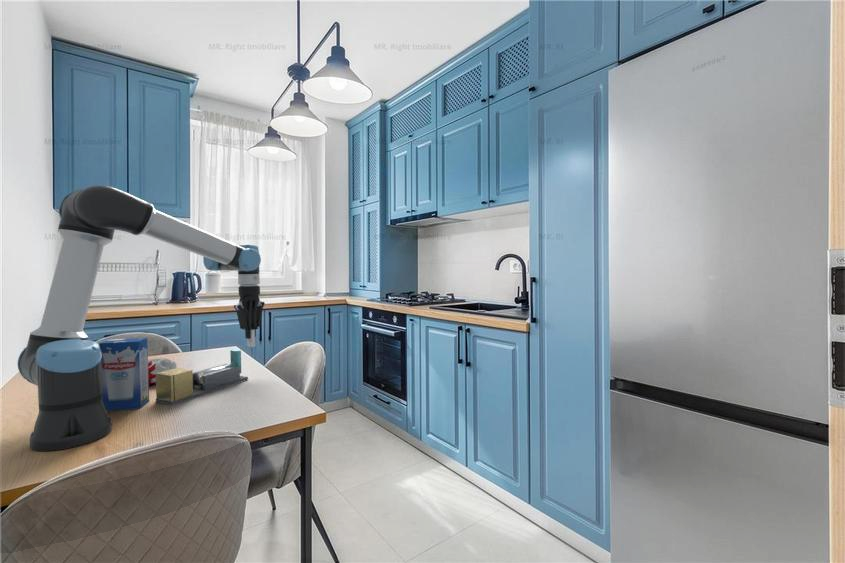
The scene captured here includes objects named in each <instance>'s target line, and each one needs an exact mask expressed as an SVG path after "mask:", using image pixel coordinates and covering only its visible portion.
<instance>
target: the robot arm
mask: <svg viewBox="0 0 845 563" xmlns="http://www.w3.org/2000/svg"><path fill="white" fill-rule="evenodd" d="M58 215H59V218H60V220H59V224H58V227H57V232H58V233H59V234H60V236H61V237H62V238H63V239H62V244H61V248H60V250H59V253H58V258H57V263H56V266H55V270H54V274H53V277H52V280H51V281H52V282H51V285H50V289H49V293H48V296H47V301H46V304H45V307H44V308H45V309H44V311H43V315H42V319H41V324H40V326H39V327H38V328H36V329H35V330H33V331H31V332H30V334H29V336H28V337H29V338H28V341H27V344H26V347H24V348H23V350H22V351H21V352H20V354H19V356H18V358H17V369H18V371H19V373H20V375H21V377H22V378H23V379H24V380H26V381H27V382H28V383H31V384H33V385H35V386H37V395H38V396H37V397H38V398H37V399H38V414H37V417H36V420H35V423H34V426H33V431H32V432H31V433H30V435H29V448H30V449H31V450H33V451H37V452H38V451H39V452H51V451H59V450H60V451H61V450H66V449H70V448H76V447H80V446H83V445H86V444H88V443H89V444H90V443H92V442H95V441H97V440H100V439H101V438H104V437H105V436H107V435H108V434H110V433H111V431H113V420H112V418H111V417H110V416H109V414H108V411H107V410H106V408H105V406H104V403H103V401H102V375H101V358H102V355H101V352H100V346H99V343H97V342H96V341H94V340H90V339H89V336H88V335H87V334H86V332H85V331H84V327H85V323H86V320H87V314H88V311H89V307H90V303H91V299H92V295H93V291H94V286H95V283H96V279H97V274H98V271H99V268H100V262H101V259H102V254H103V250H104V247H105V246H106V245H109V244H110V243H112V242H113V238H114V235H115V231H122V232H124V233H125V232H126V233H129V234H131V235H135V236H141V235H145V236H148V237H150V238H154V239H156V240H159V241H161V242H163V243H167V244H169V245H172V246H174V247H177V248H180V249H182V250H184V251H188V252H190V253H194V254H195V255H199V256H200V257H203V261H202V262H203V266H204V268H205V269H206V270H208V271H210V272H211V271H213V272H214V271H215V272H218V271H227V272H229V271H236V272H237V284H238V285H239V286H238V296H239V301H238V303H237V304H233V307H234V308H233V309H235V311H236V316H237V319H238V324H239V328H240V329H241V330H244V331H245V332H244V334H245V336H244V337H245V339H246V347H249V348H255V347H256V336H257V330H258V329H259V327H261V322H262V317H263V316H262V315H263V310H264V306H265V305H266V304H265V302H264V301H261V300H260V297H259V296H260V295H261V286H260V283H261V282H260V281H261V280H260V278H261V277H260V265H261V260H262V259H261V258H262V257H261V255H260V250H259V246H258V245H256V244H238V245H237V244H235V243H233V242H230V241H228V240H225V239H224V238H222V237H220V236H216V235H215V234H212V233H210V232H208V231H205V230H203V229H201V228H199V227H196V226H193V225H192V224H189V223H187V222H184V221H183V220H180V219H177V218H175V217H173V216H171V215H168V214H166V213H164V212H161V211H159V210H157V209H155V207H154V205H153V203H151V202H148V201H145V200H143V199H141V198H139V197H136V196H135V195H132V194H131V193H128V192H126V191H124V190H120V189H118V188H115V187H113V186H110V185H109V186H108V185H104V184H103V185H101V184H100V185H98V184H97V185H91V186H88V187H85V188H80V189H76V190H73V191H71V192H69V193H68V194H66V195H65V196H64V197H63V198H62V200H61V201H60V203H59V206H58Z"/></svg>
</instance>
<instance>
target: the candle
mask: <svg viewBox="0 0 845 563" xmlns="http://www.w3.org/2000/svg"><path fill="white" fill-rule="evenodd" d="M175 368H178V366H177V363H176V361H175V360H173V359H170V358H167V357H153V358H148V379H149V386H153V385H156V373H159V372H163V371H167V370H171V369H175Z"/></svg>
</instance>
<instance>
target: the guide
mask: <svg viewBox="0 0 845 563" xmlns="http://www.w3.org/2000/svg"><path fill="white" fill-rule="evenodd" d="M228 364H229V363H228ZM228 364H227V363H223V364H219V365H216V366H212V367H208V368H205V369H201V370H198V371H194V372H193V369H189V368H182V367H177V368H175V369H171V370H167V371H163V372H159V373H156V383H155V390H156V391H155V393H156V394H155V396H156V398H157V399H160V400H165V401H170V402H173V401H176V400H179V399H182V398H185V397H188V396H191V395H193V388H194V389H197V390H203V391H206V390H209V389H213V388H216V387H219V386H222V385H225V384H228V383H231V382H234V381H237V380H240V376H241V373H240V366H238V365H237V366H234V367H230V368H227V369H223V370H220V371H216V372H213V373H209V374H206V375H202V384H198V383H197V382H196V379H195V376H196V374H197V373H199V372H202V371H206V370H210V369H213V368H217V367H220V366H224V365H228ZM156 398H155V399H156Z"/></svg>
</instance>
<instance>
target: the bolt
mask: <svg viewBox="0 0 845 563" xmlns="http://www.w3.org/2000/svg"><path fill="white" fill-rule="evenodd" d="M229 353H230V354H229V355H230V363H228V365H224V366H220V367H217V368H213V369H210V370H206V371H202V372H199V373H197V374H196V376H195V379H196V382H197V383H198V384H202V375H206V374H209V373H213V372H216V371H220V370H223V369H227V368H230V367H234V366H237V365H238V366H240V374H242V350H241V349H230V351H229Z"/></svg>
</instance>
